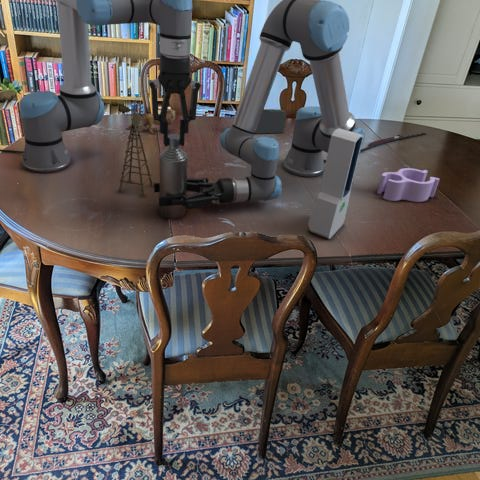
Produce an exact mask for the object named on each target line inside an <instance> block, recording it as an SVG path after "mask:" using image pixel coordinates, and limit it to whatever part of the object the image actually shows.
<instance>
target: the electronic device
mask: <svg viewBox="0 0 480 480" xmlns="http://www.w3.org/2000/svg"><path fill="white" fill-rule="evenodd" d="M363 137H364V135H361V134H358V133H354V132H350V131H347V130H343V129H340V128H339V129H337V130H335V131H334V132H333V134H332V135H331V140H330V145H329V149H328V153H326V154H327V155H326V159H325V160H326V162H325V163H324V171H323V173H322V174H323V175H322V179H321V184H320V188H319V192H318V195H317V198H316V200H315V203H314V205H313V208H312V211H311V214H310V216H309V218H308V219H309V220H308V222H307V225H308V229H309V231H310V232H311V233H313V234H314V235H318V236H321V237H322V238H325V239H328V240H330V239H331V238H332V237H333V236H334V235H335V234H336V233H337V232H338V231H339V229H341V228H342V226H343V225H344V222H345V220H346V216H347V210H348V206H349V202H350V197H351V193H352V191H351V189H352V186H353V185H352V184H353V181H354V177H355V172H356V168H357V165H358V161H359V157H360V153H361V152H360V150H361V149H362V146H363V145H362V141H363ZM361 145H362V146H361Z"/></svg>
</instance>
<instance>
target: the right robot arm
mask: <svg viewBox="0 0 480 480" xmlns="http://www.w3.org/2000/svg"><path fill="white" fill-rule="evenodd" d="M349 32H350V18H349V15H348V13H347V11H346V9H345V8H344V7H343V6H342V5H340V4H338V3H335V2H333V1H331V0H281V1H279V3H277V5H275V7H274V8H273V9H272V10H271V12H270V13H269V14H268V16H267V18H266V20H265V22H264V24H263V26H262V28H261V31H260V34H259V38H258V39H259V42H260V44H259V48H258V51H257V53H256V56H255V59H254V63H253V65H252V67H251V70H250V73H249V76H248V79H247V81H246V85H245V87H244V90H243V93H242V96H241V99H240V102H239V105H238V108H237V110H238V111H237V110H236V112H237V113H236V112H235V113H236V116H235V115H234V119H233V122H232V125H231V127H228V128H226V129H224V131H222V133H221V135H220V138H219V144H220V147H221V148H222V149H223V150H225V151H226V152H227V153H228V154H230V155H232V156H234V157H236V158H238V159H240V160H241V161H243V162H245V163H247V164H248V165H250V166H251V167H250V176H239V177H237V176H236V177H235V176H234V177H220V178H218V179H217V181H216V182H212V181H211V182H210V181H209V180H210V179H209V178H208V177H201V178H195V177H193V178H192V177H191V178H190V177H187V192H193V194H189V195H186V196H185V195H183V199H182V195H179V196H163V197H160V196H158V207H160V206H174V205H183V206H186V210H193V209H199V208H205V207H213V206H214V207H218V206H219V204H230V203H232V202H233V203H243V202H259V201H261V202H262V201H265V202H267V201H272V200H277V199H279V198H280V197H281V194H282V181H281V178H280V177H279V175H276V173H277V166H278V159H279V149H280V144H279V142H278V140H276V139H275V138H273V137H269V136H260V137H256V138H254V137H255V135H256V133H255V131H256V129H257V126H258V123H259V120H260V118H261V115H262V112H263V110H264V109H265V107H266V104H267V101H268V98H269V96H270V93H271V90H272V87H273V85H274V82H275V79H276V77H277V75H278V72H279V69H280V66H281V64H282V61H283V58H284V56H285V53H286V52H288V51H290V49H291V47H292V44H293V43H294V42H295V43H298V44H299V46H300V50H301V53H302V57H303V59H304V60H306V61H307V62H309V65H310V71H311V74H312V78H313V82H314V87H315V91H316V96H317V100H318V105H319V106H304V107H300V108H299V109H297V112H296V114H295V119H294V126H293V132H292V140H291V145H290V148H289V150H288V152H287V154H286V156H285V158H284V159H283V164H282V165H283V169H284V170H285V171H286V172H288V173H290V174H292V175H295V176H298V177H304V178H315V177H319V176H321V175H322V174H324V169H325V163H326V159H324V154H323V152H324V153H326V154H328V149H329V145H330V140H331V135H332V134H333V132H334V131H335V130H337V129H339V128H340V129H343V130H347V131H350V132H354V133H358V134H361V135H364V137H363V141H362V145H361V147H362V146H363V145H364V142H365V138H366V133H365V131H364V129H363V128H362V127H358V126H357V123H356V118H355V116H354V114H353V113H351V112H350V110H349V106H348V104H349V103H348V99H347V98H348V97H347V92H346V87H345V80H344V75H343V74H344V73H343V69H342V63H341V62H342V61H341V57H340V52H342V50H343V48H344V45H345V43H346V42H347V39H348V37H349V35H348V33H349ZM420 133H421V134H419V133H415V134H416V135H414V134H412V135H411V136H406V137H400V138H395V139H391V140H387V141H383V142H379V143H376V144H373V145H370V146H369V145H368V146H366V147H364V148H361V149H360V153H361V152H364V151H367V150H370V149H372V148H375V147H378V146H381V145H384V144H388V143H391V142H395V141H399V140H403V139H404V140H405V139H408V138H413V137H418V136H423V135H427V132H426V133H424V132H420ZM153 192H154V193H160V182H154V183H153Z"/></svg>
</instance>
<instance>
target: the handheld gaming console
mask: <svg viewBox="0 0 480 480" xmlns="http://www.w3.org/2000/svg"><path fill="white" fill-rule="evenodd" d="M237 111H238V109H237V110H236V111H235V115H234V117H235V116H236V113H237ZM286 119H287V112H286V110H285V109H280V108H279V109H278V108H277V109H275V108H271V109H270V108H269V109H267V108H264V110H263V112H262V115H261V118H260V120H259V123H258V126H257V129H256V131H255V134H281V133H283V132H284V131H285V127H286V126H285V125H286Z"/></svg>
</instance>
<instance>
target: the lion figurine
mask: <svg viewBox="0 0 480 480" xmlns="http://www.w3.org/2000/svg"><path fill="white" fill-rule="evenodd" d="M175 119H176V110H174V109H168V110H167V115H166V119H165V120H167V122H168V126H171V125H172V124H173V122H174V121H175ZM142 124H143V125H142V126H143V127H145V128H144V129H143V130H144V131H147V130H149V132H150V133H151V134H154V130H153V129H152V127H153V124H154V125H155V126H160V122H159V121H157V120H154V118H153V114H149V115H147V116H145V118H144V120H143V123H142ZM147 126H148V128H147Z"/></svg>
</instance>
